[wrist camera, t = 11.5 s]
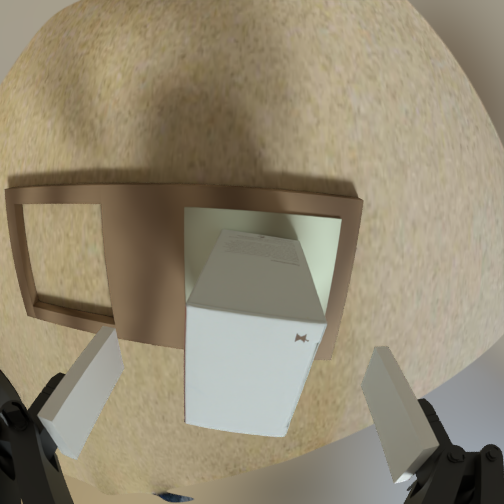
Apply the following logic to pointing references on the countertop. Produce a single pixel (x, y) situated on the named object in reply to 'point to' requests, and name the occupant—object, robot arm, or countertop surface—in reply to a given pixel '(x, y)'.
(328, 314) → the board
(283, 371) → the small box
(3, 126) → the countertop surface
